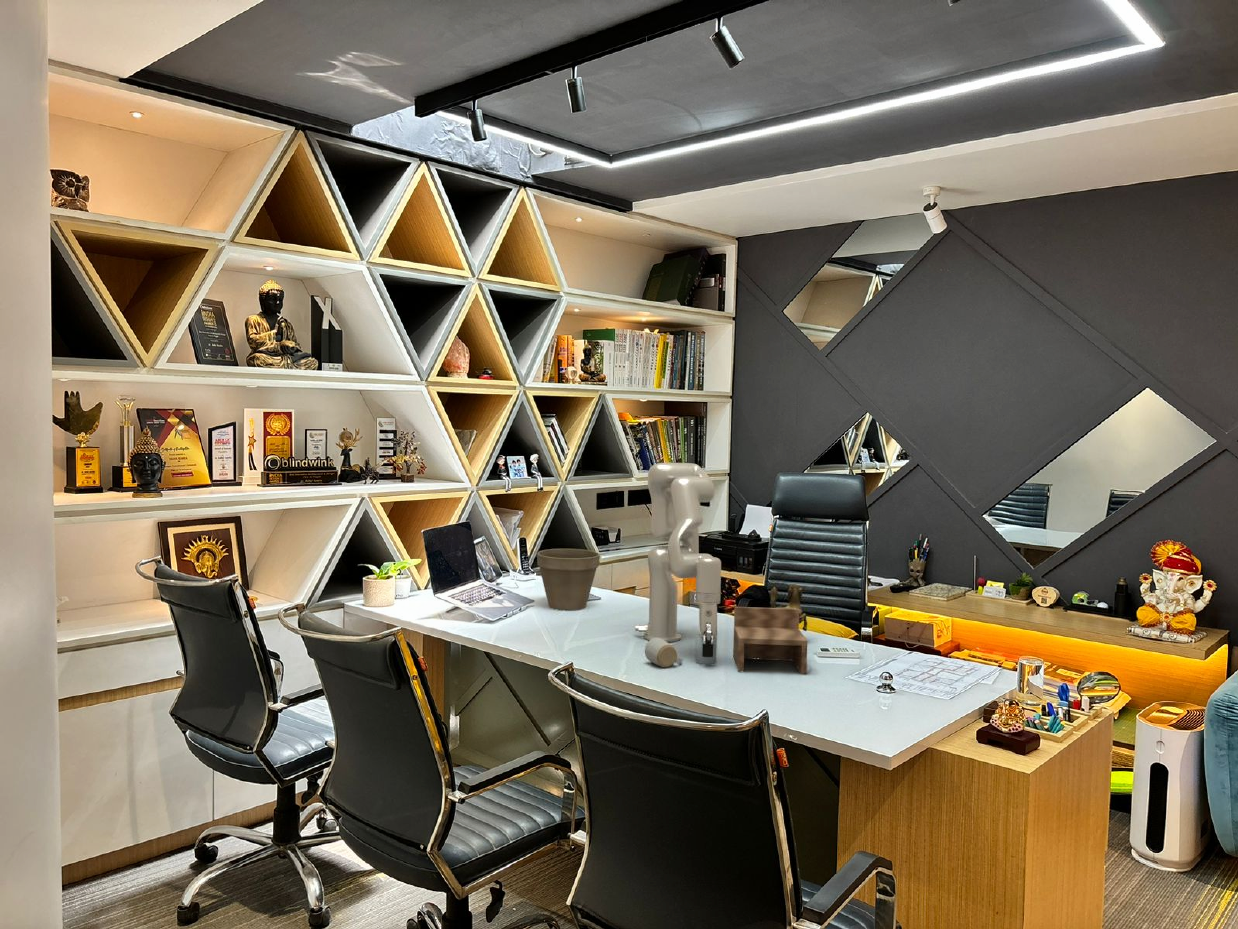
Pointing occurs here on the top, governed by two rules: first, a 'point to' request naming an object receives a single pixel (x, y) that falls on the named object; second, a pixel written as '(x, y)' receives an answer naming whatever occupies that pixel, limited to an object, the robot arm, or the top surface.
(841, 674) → the top surface
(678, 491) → the robot arm
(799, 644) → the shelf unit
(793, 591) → the figurine
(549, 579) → the plant pot
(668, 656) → the ceramic mug
